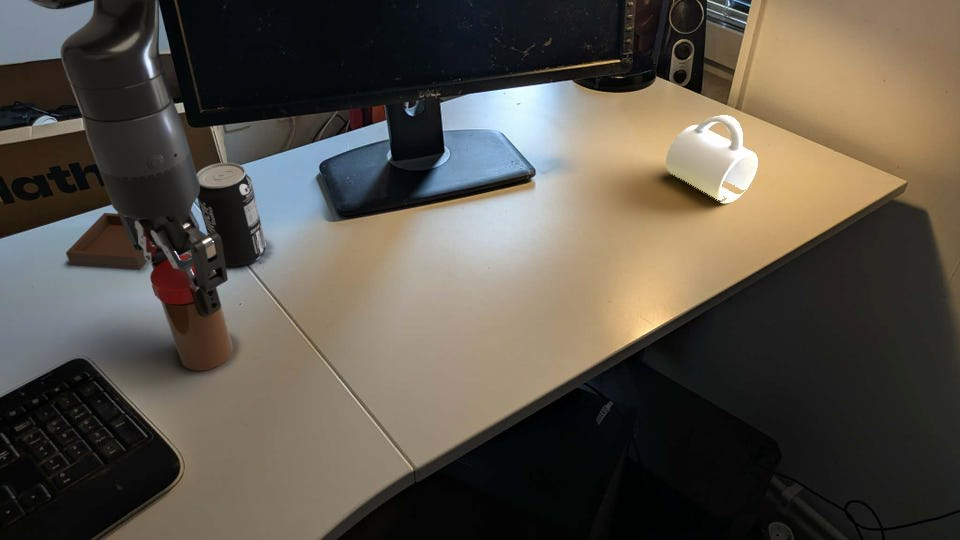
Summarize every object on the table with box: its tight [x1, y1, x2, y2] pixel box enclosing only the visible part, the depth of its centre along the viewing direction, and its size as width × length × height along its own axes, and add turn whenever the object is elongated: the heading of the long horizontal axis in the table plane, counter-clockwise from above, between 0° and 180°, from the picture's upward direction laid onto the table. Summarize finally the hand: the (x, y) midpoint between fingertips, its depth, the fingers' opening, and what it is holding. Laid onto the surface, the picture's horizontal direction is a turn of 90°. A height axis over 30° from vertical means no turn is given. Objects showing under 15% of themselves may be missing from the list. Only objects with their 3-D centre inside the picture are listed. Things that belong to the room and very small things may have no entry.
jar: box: [159, 286, 234, 372], centre depth 69 cm, size 5×5×11 cm
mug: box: [665, 114, 758, 204], centre depth 98 cm, size 8×10×12 cm
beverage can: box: [196, 162, 267, 267], centre depth 83 cm, size 7×7×12 cm
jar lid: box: [149, 253, 196, 304], centre depth 66 cm, size 6×6×2 cm
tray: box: [65, 212, 148, 271], centre depth 87 cm, size 9×9×2 cm
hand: (191, 299), depth 68 cm, fingers closed on jar lid, 6 cm apart
